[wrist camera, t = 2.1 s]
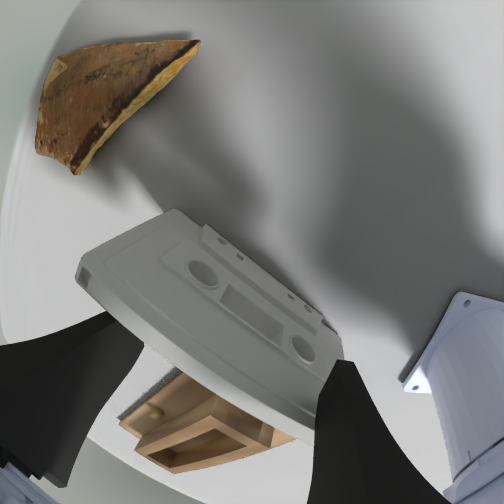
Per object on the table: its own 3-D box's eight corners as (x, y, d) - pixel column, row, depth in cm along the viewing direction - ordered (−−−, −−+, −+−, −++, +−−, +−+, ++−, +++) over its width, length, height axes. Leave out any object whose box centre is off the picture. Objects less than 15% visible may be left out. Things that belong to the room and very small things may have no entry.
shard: (212, 48, 11) (197, 37, 9) (179, 195, 14) (161, 203, 12) (68, 56, 12) (48, 53, 10) (51, 162, 15) (31, 167, 13)
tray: (316, 424, 19) (314, 454, 16) (194, 467, 27) (187, 484, 24) (204, 351, 18) (188, 382, 15) (120, 421, 26) (109, 438, 23)
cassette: (163, 225, 15) (66, 285, 8) (179, 198, 14) (79, 244, 7) (325, 351, 16) (327, 460, 9) (348, 332, 15) (363, 443, 8)
